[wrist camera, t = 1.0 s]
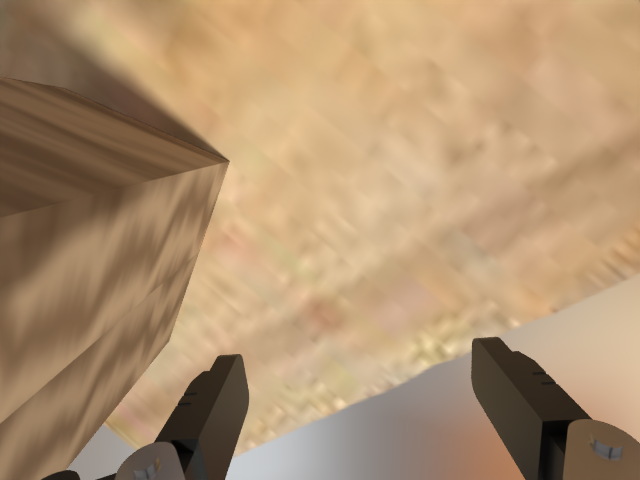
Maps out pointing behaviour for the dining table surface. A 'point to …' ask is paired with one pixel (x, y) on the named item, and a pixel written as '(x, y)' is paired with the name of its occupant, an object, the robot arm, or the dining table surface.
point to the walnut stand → (86, 264)
